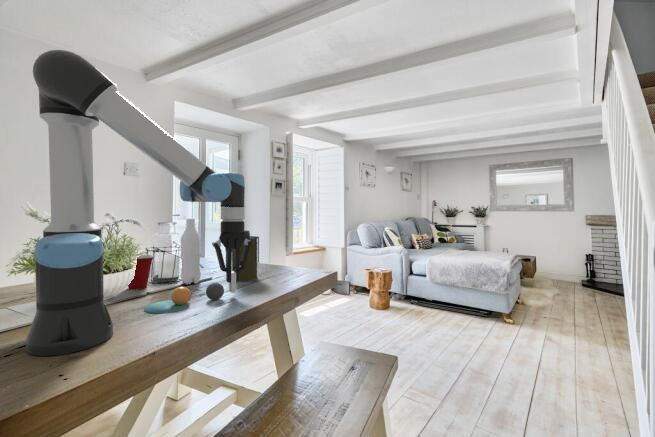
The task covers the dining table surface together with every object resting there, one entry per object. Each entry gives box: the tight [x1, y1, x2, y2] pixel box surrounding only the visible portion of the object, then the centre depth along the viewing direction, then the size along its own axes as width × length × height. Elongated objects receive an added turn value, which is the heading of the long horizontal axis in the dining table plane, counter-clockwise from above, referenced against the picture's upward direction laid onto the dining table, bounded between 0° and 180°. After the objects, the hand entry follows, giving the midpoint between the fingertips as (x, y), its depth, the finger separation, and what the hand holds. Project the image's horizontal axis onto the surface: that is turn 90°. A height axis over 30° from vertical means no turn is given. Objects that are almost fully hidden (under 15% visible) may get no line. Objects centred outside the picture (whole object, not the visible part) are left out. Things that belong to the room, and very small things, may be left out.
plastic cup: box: [127, 254, 155, 291], centre depth 117 cm, size 11×11×12 cm
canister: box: [232, 230, 260, 283], centre depth 132 cm, size 11×10×20 cm
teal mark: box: [143, 299, 190, 314], centre depth 95 cm, size 12×12×1 cm
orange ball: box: [170, 286, 192, 305], centre depth 97 cm, size 6×6×6 cm
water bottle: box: [180, 218, 202, 285], centre depth 124 cm, size 7×7×25 cm
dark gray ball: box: [205, 282, 225, 301], centre depth 103 cm, size 6×6×6 cm
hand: (232, 291), depth 106 cm, fingers closed
